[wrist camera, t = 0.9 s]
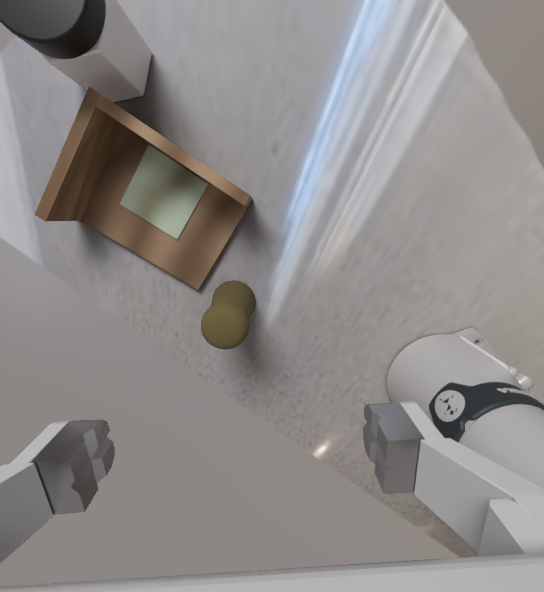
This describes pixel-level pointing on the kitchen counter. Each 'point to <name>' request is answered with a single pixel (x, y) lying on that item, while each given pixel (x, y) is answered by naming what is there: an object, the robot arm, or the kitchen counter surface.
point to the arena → (142, 191)
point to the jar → (84, 42)
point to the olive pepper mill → (228, 315)
